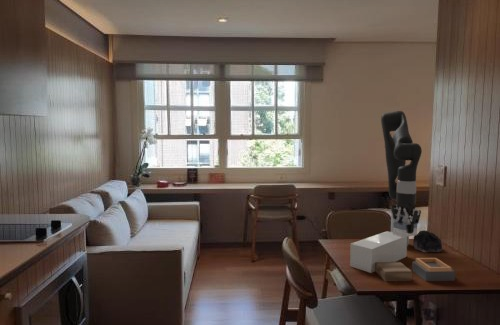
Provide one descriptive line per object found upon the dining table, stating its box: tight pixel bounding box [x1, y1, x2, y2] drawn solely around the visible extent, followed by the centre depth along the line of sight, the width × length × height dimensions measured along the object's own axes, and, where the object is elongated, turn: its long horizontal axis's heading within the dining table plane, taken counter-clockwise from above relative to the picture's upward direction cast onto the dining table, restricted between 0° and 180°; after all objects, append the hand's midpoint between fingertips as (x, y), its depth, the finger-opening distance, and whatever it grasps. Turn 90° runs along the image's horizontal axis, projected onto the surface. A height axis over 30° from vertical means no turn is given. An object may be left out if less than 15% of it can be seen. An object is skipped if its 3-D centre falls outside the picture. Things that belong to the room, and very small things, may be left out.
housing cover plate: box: [393, 221, 418, 230], centre depth 156 cm, size 5×8×2 cm, turn 113°
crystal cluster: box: [412, 229, 443, 253], centre depth 193 cm, size 14×14×10 cm
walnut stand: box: [374, 261, 413, 282], centre depth 157 cm, size 11×11×4 cm
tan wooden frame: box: [411, 257, 456, 282], centre depth 157 cm, size 12×12×6 cm
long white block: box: [349, 230, 408, 274], centre depth 175 cm, size 32×11×11 cm, turn 131°
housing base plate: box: [393, 227, 418, 237], centre depth 156 cm, size 5×8×3 cm, turn 113°
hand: (405, 231), depth 156 cm, fingers closed on housing base plate, housing cover plate, 5 cm apart
